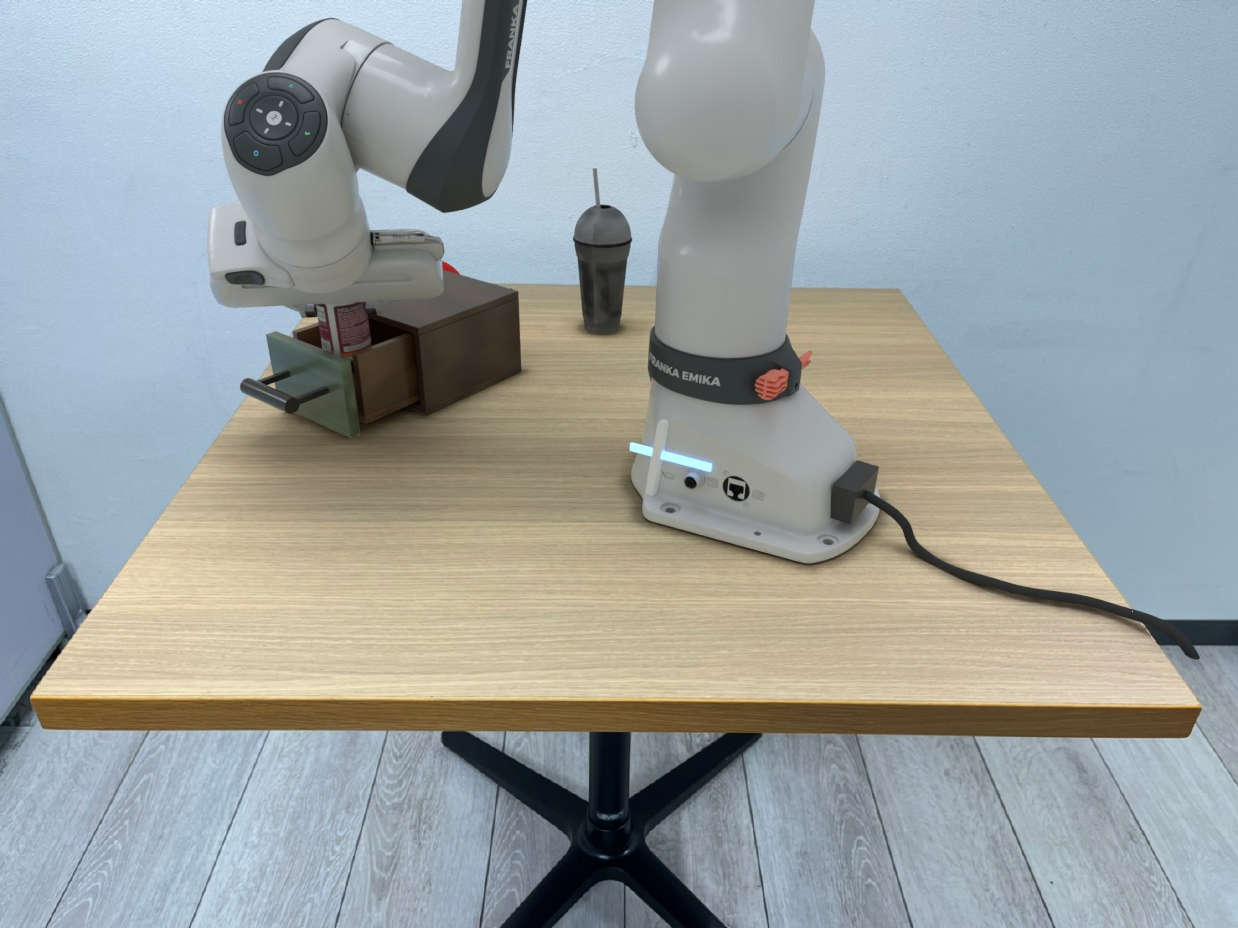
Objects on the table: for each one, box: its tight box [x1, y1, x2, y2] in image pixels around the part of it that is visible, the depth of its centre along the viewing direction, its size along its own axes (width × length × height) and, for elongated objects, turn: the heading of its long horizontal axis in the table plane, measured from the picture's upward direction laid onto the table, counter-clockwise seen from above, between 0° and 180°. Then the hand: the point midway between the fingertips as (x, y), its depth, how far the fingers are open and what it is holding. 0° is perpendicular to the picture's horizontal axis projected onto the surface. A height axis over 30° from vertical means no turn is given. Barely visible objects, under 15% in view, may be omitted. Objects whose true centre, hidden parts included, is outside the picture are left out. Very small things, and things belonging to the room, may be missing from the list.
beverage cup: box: [572, 167, 633, 336], centre depth 112 cm, size 7×7×20 cm
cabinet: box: [368, 270, 522, 416], centre depth 100 cm, size 15×13×10 cm
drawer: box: [239, 318, 420, 439], centre depth 92 cm, size 18×11×8 cm, turn 143°
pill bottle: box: [315, 302, 372, 361], centre depth 89 cm, size 5×5×8 cm
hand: (342, 309), depth 90 cm, fingers closed on pill bottle, 5 cm apart
